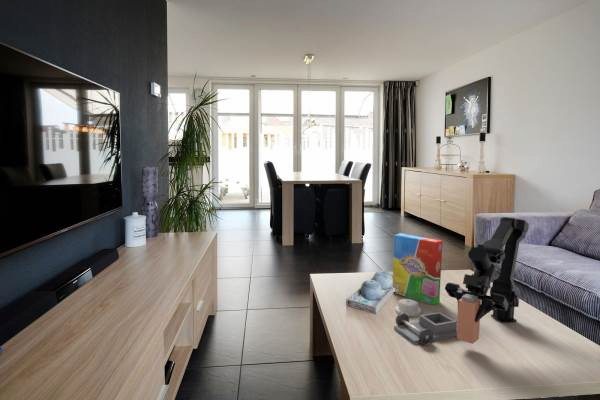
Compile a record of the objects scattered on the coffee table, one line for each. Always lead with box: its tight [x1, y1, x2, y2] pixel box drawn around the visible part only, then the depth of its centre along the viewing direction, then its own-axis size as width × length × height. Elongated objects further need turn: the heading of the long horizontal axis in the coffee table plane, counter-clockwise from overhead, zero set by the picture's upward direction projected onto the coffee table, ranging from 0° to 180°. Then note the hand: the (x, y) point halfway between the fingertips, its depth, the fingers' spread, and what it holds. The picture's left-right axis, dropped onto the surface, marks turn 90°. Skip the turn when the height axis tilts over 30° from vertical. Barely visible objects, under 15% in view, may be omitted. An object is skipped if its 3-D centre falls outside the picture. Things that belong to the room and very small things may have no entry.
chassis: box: [393, 311, 458, 345], centre depth 138 cm, size 22×15×5 cm
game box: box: [392, 232, 444, 306], centre depth 171 cm, size 21×6×27 cm, turn 42°
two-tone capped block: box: [456, 294, 482, 345], centre depth 125 cm, size 5×5×14 cm
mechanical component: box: [394, 298, 422, 317], centre depth 157 cm, size 10×4×10 cm
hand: (467, 319), depth 124 cm, fingers closed on two-tone capped block, 5 cm apart
